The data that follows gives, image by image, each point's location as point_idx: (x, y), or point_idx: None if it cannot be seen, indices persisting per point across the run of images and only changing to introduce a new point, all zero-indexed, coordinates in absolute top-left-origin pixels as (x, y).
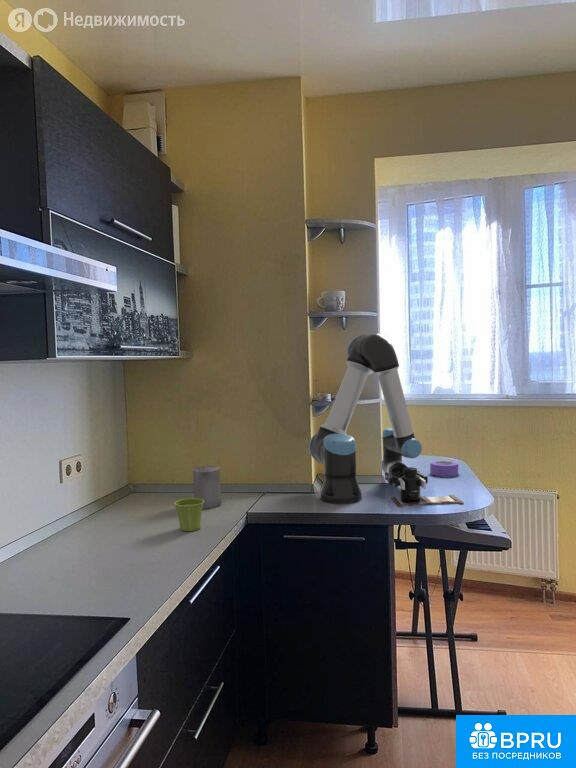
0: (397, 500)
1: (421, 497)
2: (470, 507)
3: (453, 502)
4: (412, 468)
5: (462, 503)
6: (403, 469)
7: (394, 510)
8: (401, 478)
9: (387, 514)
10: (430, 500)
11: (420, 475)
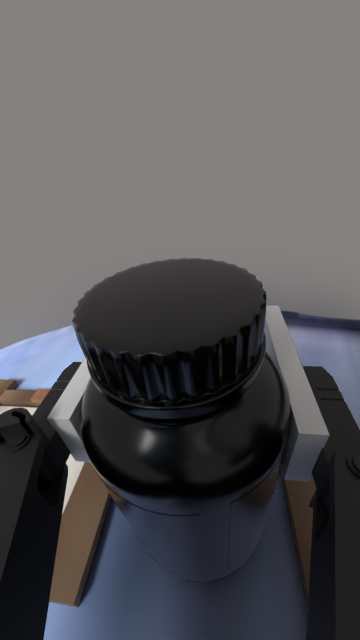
0: (294, 496)
1: (89, 542)
2: (27, 350)
3: (27, 391)
4: (139, 289)
5: (5, 382)
6: (265, 316)
7: (306, 358)
8: (283, 378)
9: (330, 326)
10: (76, 468)
11: (30, 417)
